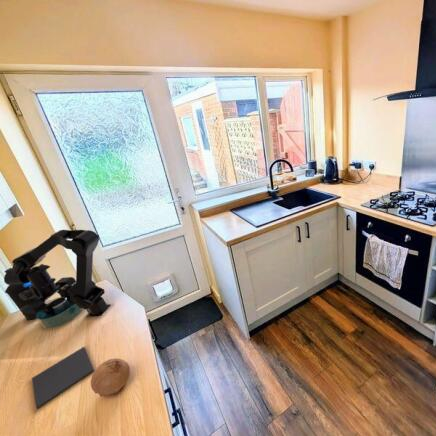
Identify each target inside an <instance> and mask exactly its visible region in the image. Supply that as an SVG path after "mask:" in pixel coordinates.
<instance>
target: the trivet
mask: <svg viewBox="0 0 436 436" xmlns="http://www.w3.org/2000/svg"><path fill="white" fill-rule="evenodd" d="M94 371H95V370H94V367H93V365H92V363H91V360H90V357H89V354H88V353H87V350H86V348H85V347H84V346H83V347H81V348H80V349H78V350H76V351H75V352H73V353H71V354H69V355H68V356H66V357H65V358H63V359H61V360H60V361H58V362H56V363H55V364H52V365H51V366H50V367H48V368H46V369H45V370H43V371H41V372H40V373H37V374H36V375H34V376H33V377H31V381H32V388H33V389H32V390H33V396H34V402H35V408H36V409H37V410H39V409H40V408H42V407H43V406H45V405H46V404H47V403H49V402H51V401H53V399H55V398H57V397H58V396H59V395H62V393H64V392H65V391H67V390H68V389H70V388H72V387H73V386H75V385H76V384H77V383H79V382H80V381H82V380H84V379H85V378H86V377H88V376H89V375H91V374H93V373H94Z"/></svg>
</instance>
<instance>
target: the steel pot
mask: <svg viewBox="0 0 436 436" xmlns="http://www.w3.org/2000/svg"><path fill="white" fill-rule="evenodd" d="M47 304H51V306H52V308H53V310H54V313H55V315H58V314H60V313H62V312H64V311H66V310H67V309H69V308H70V307H72V306H71V304H70V303H69V301H68V300H67V298H66V297H61V296H59V297H57V298H54V299H53V300H51V301H49V302H48V303H47ZM52 317H53V316H52Z"/></svg>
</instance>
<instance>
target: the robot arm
mask: <svg viewBox="0 0 436 436" xmlns="http://www.w3.org/2000/svg"><path fill="white" fill-rule="evenodd" d="M99 241H100V236H99V234H98V233H97V232H95V231H94V230H89V229H87V230H86V229H71V230H69V229H60V230H58V231H56V232H55V233H53V234H51V235H50V236H49V237H48V238H47V239H46V240H44V241H43V242H41V243H40V244H39V245H37V246H36V247H33V248H32V249H30V250H29V249H28V251H26V252H24V253H22V254H21V255H19V256H17V257H15V258H14V259H12V260H11V263H12V267H9V268H7V269H5V270H4V273H5V274H4V277H3V282H4V283H5V284H6V285H7V286H9V285H16V284H25V283H28V282H31V284H32V285H33V286H31V289H29V290H28V291H24V292H22V293H20V294H19V297H20V298H21V299H22V300H27V299H31V298H33V297H35V298H38V297H41V298H40V299H39V300H38V301H30V302H29V303H28V304H26V305H25V306H24V307H22V309H21V311H22V312H23V314H34V313H38V312H40V311H43V312H45V313H47V314H49V315H51V316H55V313H54V310H53V308H52V306H51V304H48V303H47V302H46V301H48V300H49V299H50V298H51V297H53V296H54V295H55V294H56V293H57V294H58V295H59V297H66V298H67V300H68V301H69V299H71V300H72V302H73V303H75V304H76V305H77V306H78V307H79V308H83V310H86V312H87V313H88V314H87V315H86V318H94V317H101V316H103V315H104V313H106V311H107V310H108V309H109V308H110V307H111V304H107V302H106V301H105V299H104V297H103V295H105V289H104V288H102V287H100V286H98V285H96V282H95V281H93V263H94V262H93V261H94V252H95V250H96V248H97V246H98V244H99ZM58 246H62V247H63V248H65V249H66V250H71V252H72V253H73V254H75V256H76V259H75V261H76V263H75V264H76V267H75V270H76V271H75V274H76V275H75V277H73V276H66V277H61V278H59V279H58V280H57V279H56V278H55V277H51V274H50V273H49V272H48V270H49V268H51V266H50V265H48V264H44V263H41V262H42V261H44V259H45V258H46V255H48V253H49V252H51V251H52V250H54V249H55V248H57V247H58ZM40 263H41V264H40ZM38 264H39V265H38ZM56 280H57V281H56ZM55 281H56V282H55ZM21 311H20V312H21ZM22 312H21V313H22ZM23 314H22V315H23Z"/></svg>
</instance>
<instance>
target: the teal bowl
mask: <svg viewBox="0 0 436 436" xmlns="http://www.w3.org/2000/svg"><path fill="white" fill-rule="evenodd" d="M69 303H70V304H71V306H72V307H70V308H69V309H67V310H66V311H64V312H62V313H60V314H58V315H55V316H53V317H52V316H51V315H49V314H47V313H45V312H43V311H40V312H38V313H37V315H36V317H37V319H36V320H37V321H38V323H40V325H41V326H42V328H44V329H54V328H58V327H61V326H63V325H65V324H68V323H69V322H71V321H73V320H74V319H76V318H77V317H78V316H79V315H80V314H82V312H83V311H84V309H83V308H79V307H78V306H77V305H76V304H75V303H73V302H72V300H71V299H69Z"/></svg>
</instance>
